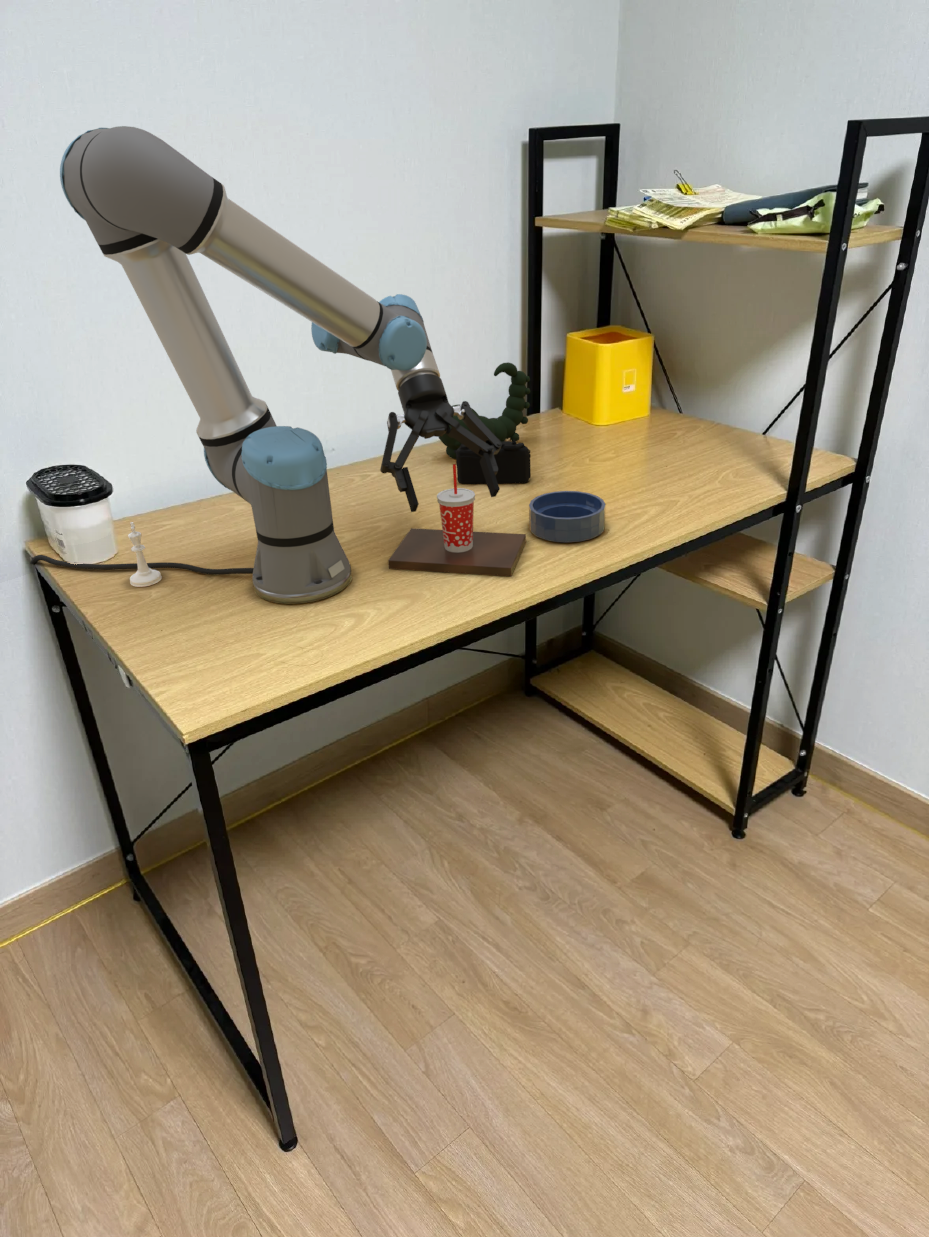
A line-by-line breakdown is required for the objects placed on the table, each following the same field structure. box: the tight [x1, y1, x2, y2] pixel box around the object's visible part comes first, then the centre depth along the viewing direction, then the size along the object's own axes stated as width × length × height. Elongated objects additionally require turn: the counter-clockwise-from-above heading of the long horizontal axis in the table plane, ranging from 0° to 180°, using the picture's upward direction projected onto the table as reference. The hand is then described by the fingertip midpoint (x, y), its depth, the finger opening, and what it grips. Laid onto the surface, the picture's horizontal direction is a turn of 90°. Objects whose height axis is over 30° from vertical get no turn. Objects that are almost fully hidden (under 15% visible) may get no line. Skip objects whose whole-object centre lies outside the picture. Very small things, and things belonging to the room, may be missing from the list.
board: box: [387, 527, 527, 577], centre depth 143 cm, size 20×13×2 cm, turn 77°
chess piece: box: [127, 521, 163, 588], centre depth 138 cm, size 5×5×10 cm
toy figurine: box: [438, 362, 531, 460], centre depth 184 cm, size 9×19×25 cm
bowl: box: [528, 490, 607, 543], centre depth 149 cm, size 13×13×4 cm
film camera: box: [454, 440, 532, 485], centre depth 173 cm, size 15×10×9 cm, turn 84°
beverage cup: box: [436, 463, 476, 553], centre depth 139 cm, size 6×6×14 cm
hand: (455, 501), depth 138 cm, fingers open, 13 cm apart
